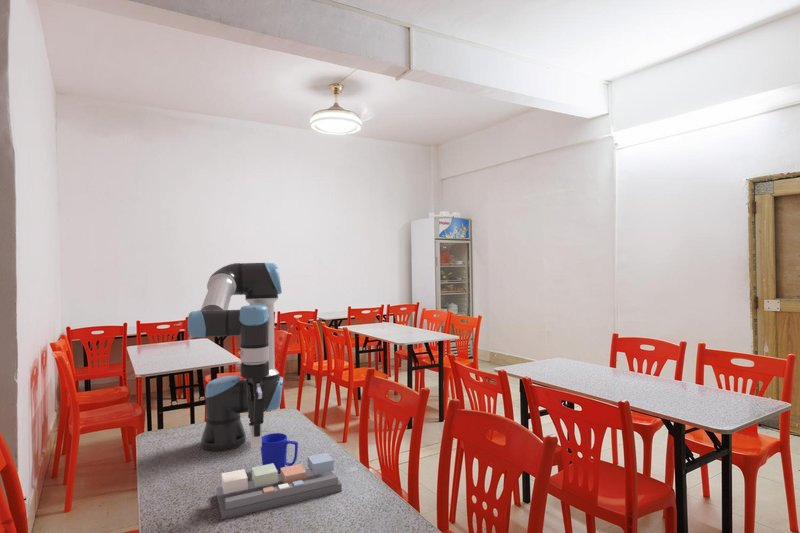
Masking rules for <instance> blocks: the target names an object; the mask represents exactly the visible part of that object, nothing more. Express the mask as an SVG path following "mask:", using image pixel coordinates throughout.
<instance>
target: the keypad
mask: <svg viewBox="0 0 800 533" xmlns="http://www.w3.org/2000/svg"><path fill="white" fill-rule="evenodd" d="M304 469H305V468H304ZM305 470H306V474H307V480H305V481H302V480H299V481H295V482H293V483H291V484H288V483H286V484H283V482H282V480H281V474H278V483H273V484H268V485H264V486H259V487H255V485H254V482H253V480H248V489H245V490H240V491H236V492H231V493H227V494H224V492H223V488H222V486H219V487H216V488H215V489H216V499H217V503H218V507H219V512H220V517H221V520H224V519H230V518H233V517H238V516H243V515H247V514H250V513H254V512H258V511H264V510H267V509H271V508H276V507H279V506H283V505H288V504H293V503H297V502H301V501H306V500H309V499H314V498H318V497H322V496H327V495H330V494H334V493H339V492H342V490H343V488H342V485H343V484H342V483H341V481H340V480H339V477H338V476H337V474H335V473H334V472H333V471H329V472H324V473H319V474H315V475H313V473H312V472H311V471H310V469H309V468H306V469H305Z"/></svg>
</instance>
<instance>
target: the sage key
mask: <svg viewBox="0 0 800 533" xmlns="http://www.w3.org/2000/svg"><path fill="white" fill-rule="evenodd" d="M278 475H279V472H278V471H277V469H276V467H275V465H274V464H273V463H272V464H267V465H262V464H261V465H257V466H253V467H251V479H252V480H253V482H254V485H255V487H259V486H264V485H268V484H273V483H278ZM252 480H251V481H252Z"/></svg>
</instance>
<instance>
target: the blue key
mask: <svg viewBox="0 0 800 533" xmlns="http://www.w3.org/2000/svg"><path fill="white" fill-rule="evenodd" d="M334 466H335V464H334V459H333V457H332V456H331V455H330V454H329V453H328V452H324V453H319V454H314V455H308V456H307V467H308V468H307V469H310V471H311V472H312V473H313V475H315V474H319V473H324V472H329V471H332V472H333V471H334Z"/></svg>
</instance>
